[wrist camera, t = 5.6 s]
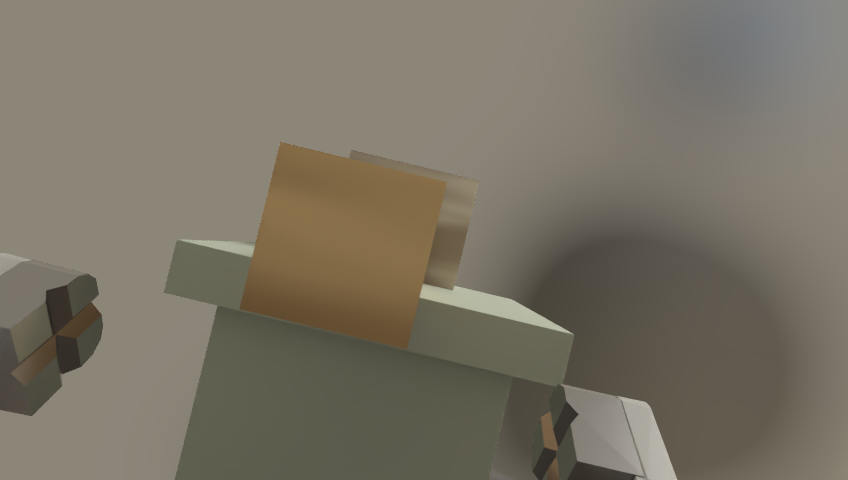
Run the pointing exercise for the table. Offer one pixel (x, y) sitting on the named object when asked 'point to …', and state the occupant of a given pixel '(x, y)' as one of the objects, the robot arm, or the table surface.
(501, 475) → the table surface
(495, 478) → the table surface
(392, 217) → the wooden hammer
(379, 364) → the pedestal stand
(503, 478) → the table surface
